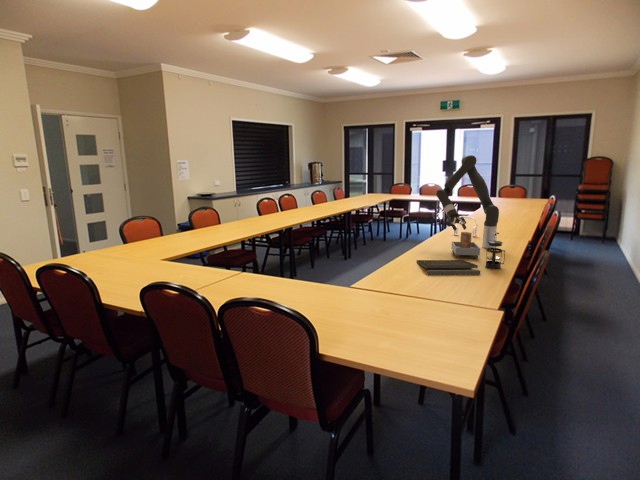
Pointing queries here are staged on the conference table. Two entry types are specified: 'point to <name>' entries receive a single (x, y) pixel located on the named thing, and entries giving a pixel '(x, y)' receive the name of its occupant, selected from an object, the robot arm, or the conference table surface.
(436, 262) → the shutter
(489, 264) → the french press
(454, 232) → the headset
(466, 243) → the walnut block
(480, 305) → the conference table surface
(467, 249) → the shallow gray tray
